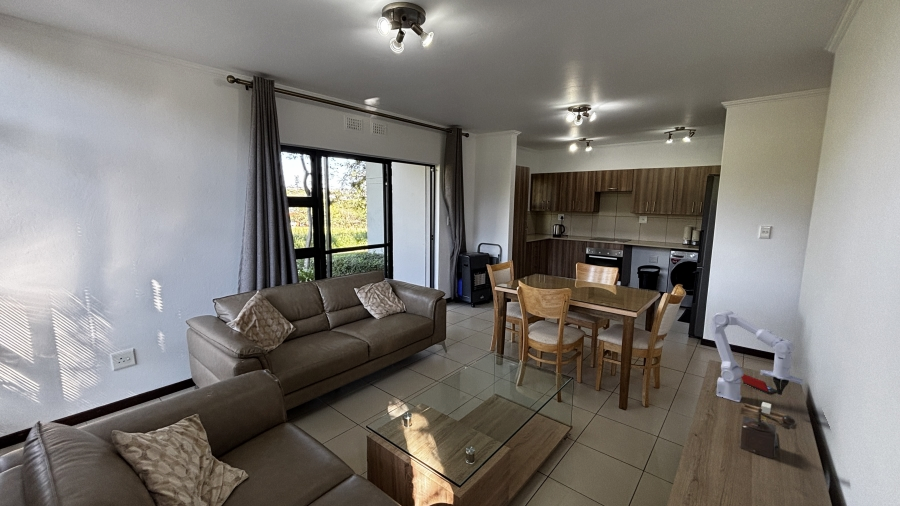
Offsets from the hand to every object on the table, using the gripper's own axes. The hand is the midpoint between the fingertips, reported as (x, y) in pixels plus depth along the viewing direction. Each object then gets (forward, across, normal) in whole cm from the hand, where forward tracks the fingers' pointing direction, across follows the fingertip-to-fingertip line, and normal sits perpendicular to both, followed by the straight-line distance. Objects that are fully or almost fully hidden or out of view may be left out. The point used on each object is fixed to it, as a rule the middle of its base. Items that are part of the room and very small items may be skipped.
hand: (779, 393), depth 168 cm
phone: (+10, -2, -29) cm, 30 cm away
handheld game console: (+10, -10, +26) cm, 29 cm away
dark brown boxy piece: (+10, -1, -38) cm, 40 cm away
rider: (+9, -4, -9) cm, 13 cm away
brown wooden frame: (+10, -4, -9) cm, 14 cm away
